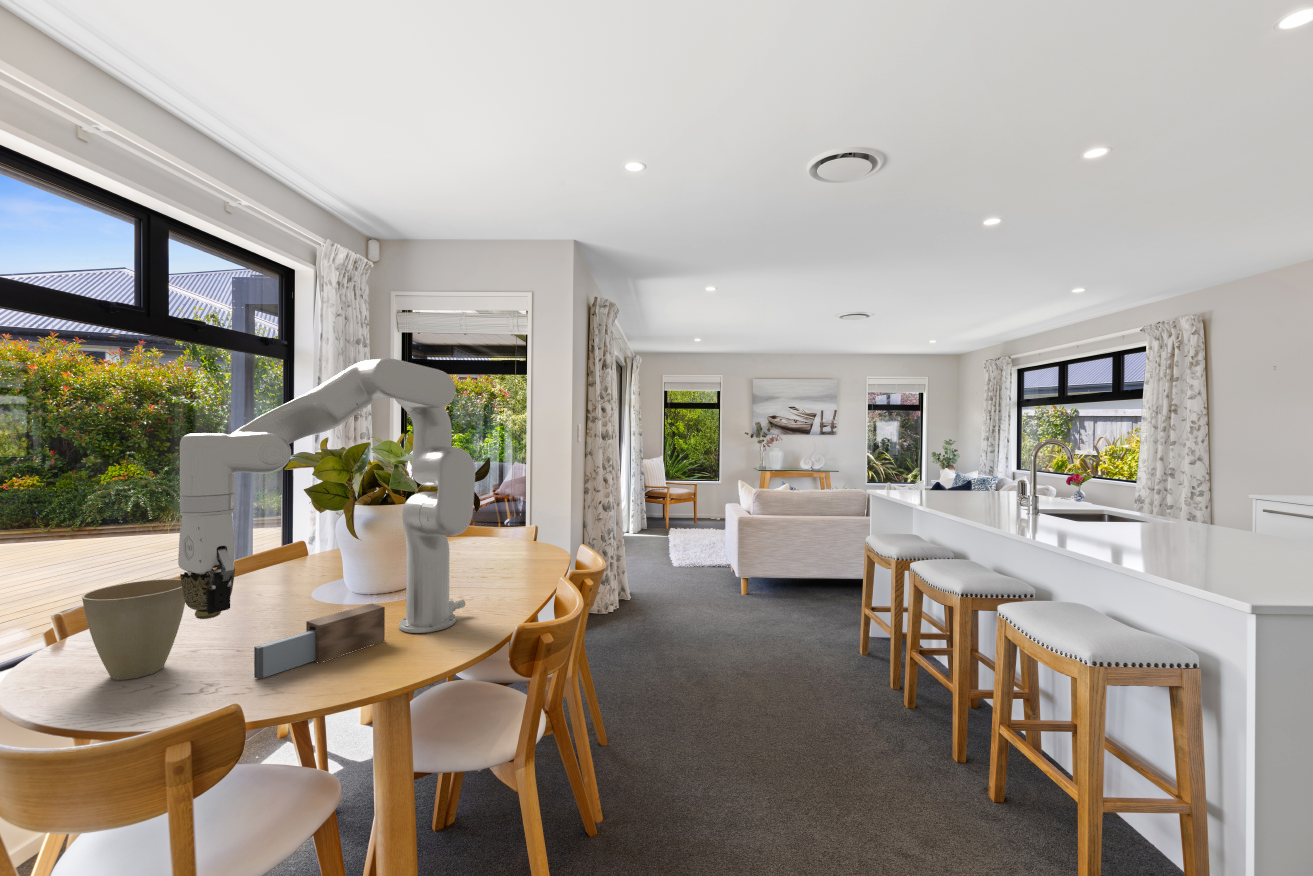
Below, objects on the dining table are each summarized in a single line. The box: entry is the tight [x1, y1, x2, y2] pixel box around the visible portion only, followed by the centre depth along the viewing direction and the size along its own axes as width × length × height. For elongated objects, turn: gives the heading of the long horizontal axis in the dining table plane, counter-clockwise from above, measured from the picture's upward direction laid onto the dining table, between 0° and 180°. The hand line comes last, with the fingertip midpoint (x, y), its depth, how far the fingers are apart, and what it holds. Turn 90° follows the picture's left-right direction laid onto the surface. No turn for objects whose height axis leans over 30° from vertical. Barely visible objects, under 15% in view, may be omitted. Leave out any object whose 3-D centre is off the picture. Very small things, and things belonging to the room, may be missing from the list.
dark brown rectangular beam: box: [305, 603, 386, 664], centre depth 118 cm, size 14×5×8 cm, turn 149°
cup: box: [179, 566, 236, 620], centre depth 97 cm, size 8×7×8 cm
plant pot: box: [81, 578, 186, 681], centre depth 107 cm, size 15×15×16 cm
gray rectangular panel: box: [253, 629, 316, 680], centre depth 110 cm, size 14×2×6 cm, turn 149°
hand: (208, 606), depth 97 cm, fingers closed on cup, 6 cm apart
